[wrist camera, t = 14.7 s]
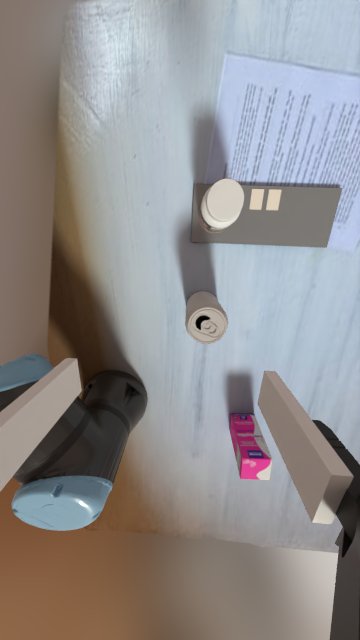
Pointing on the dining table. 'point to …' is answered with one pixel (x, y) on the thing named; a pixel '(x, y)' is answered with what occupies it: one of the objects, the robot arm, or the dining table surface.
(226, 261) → the dining table surface
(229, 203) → the pill bottle
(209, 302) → the beverage can
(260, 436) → the supplement box
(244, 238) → the slate board
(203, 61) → the dining table surface
